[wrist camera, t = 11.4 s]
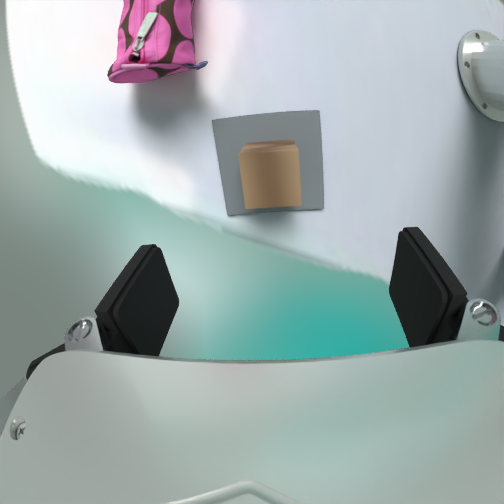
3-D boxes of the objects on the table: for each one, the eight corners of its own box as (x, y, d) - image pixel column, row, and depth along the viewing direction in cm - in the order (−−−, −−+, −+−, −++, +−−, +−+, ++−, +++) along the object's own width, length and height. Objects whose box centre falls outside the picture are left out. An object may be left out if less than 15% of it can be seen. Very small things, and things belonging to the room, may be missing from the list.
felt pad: (318, 110, 25) (319, 110, 25) (323, 206, 31) (324, 208, 30) (212, 120, 26) (211, 120, 26) (228, 213, 32) (227, 215, 32)
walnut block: (293, 139, 26) (298, 150, 21) (296, 184, 29) (301, 205, 24) (245, 143, 27) (238, 155, 22) (250, 187, 30) (245, 209, 25)
